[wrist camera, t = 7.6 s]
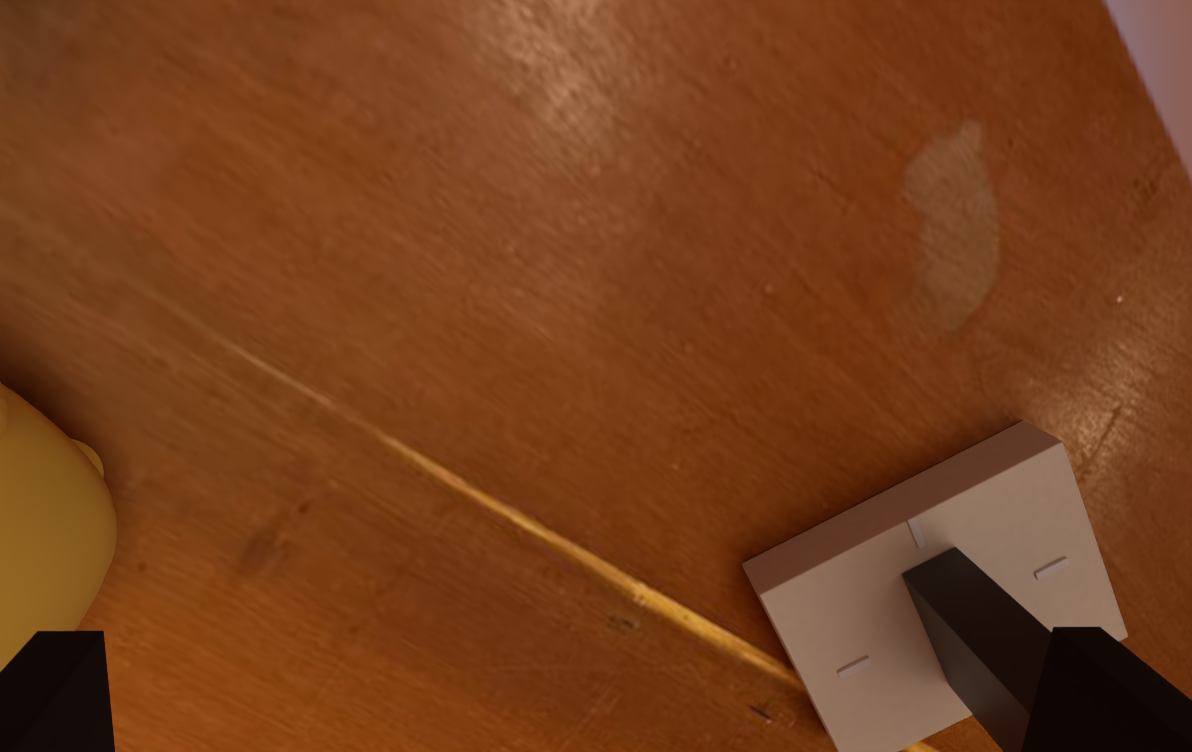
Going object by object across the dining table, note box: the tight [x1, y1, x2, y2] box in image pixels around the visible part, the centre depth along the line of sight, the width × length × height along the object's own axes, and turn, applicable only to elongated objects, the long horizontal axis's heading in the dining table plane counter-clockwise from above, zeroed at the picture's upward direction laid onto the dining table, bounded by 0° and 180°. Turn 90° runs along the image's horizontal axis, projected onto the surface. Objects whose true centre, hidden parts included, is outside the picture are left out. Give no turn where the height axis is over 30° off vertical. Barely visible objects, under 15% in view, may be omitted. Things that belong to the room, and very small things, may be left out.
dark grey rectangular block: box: [902, 547, 1052, 752], centre depth 29 cm, size 6×2×9 cm, turn 26°
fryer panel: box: [742, 421, 1128, 752], centre depth 34 cm, size 13×10×3 cm
